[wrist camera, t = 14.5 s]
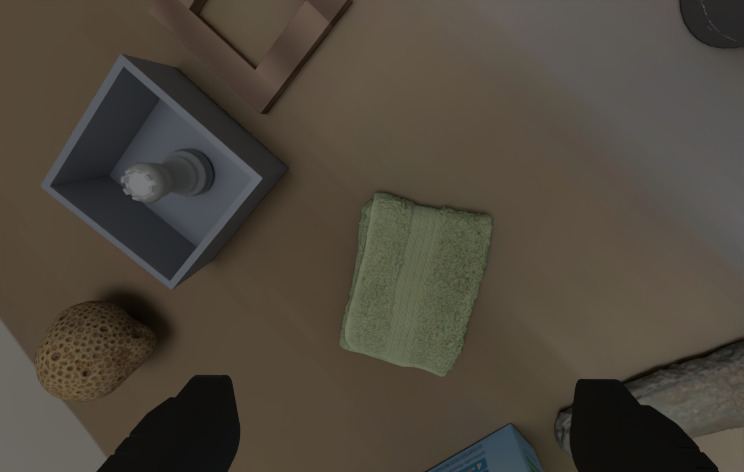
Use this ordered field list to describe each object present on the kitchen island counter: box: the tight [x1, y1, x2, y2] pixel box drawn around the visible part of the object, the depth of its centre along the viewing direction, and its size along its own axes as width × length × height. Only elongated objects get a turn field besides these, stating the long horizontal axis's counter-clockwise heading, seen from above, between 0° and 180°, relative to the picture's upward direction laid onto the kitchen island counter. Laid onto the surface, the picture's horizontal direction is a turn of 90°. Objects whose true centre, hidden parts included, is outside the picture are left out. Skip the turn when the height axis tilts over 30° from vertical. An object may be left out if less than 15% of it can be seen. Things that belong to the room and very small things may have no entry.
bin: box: [40, 54, 288, 290], centre depth 33 cm, size 13×13×7 cm
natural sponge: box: [35, 301, 157, 402], centre depth 37 cm, size 9×9×10 cm
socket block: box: [149, 0, 352, 114], centre depth 31 cm, size 12×12×2 cm
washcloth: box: [340, 192, 493, 376], centre depth 37 cm, size 13×18×3 cm
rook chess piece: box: [121, 148, 213, 203], centre depth 32 cm, size 4×4×8 cm
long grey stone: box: [555, 340, 744, 456], centre depth 37 cm, size 35×5×10 cm
